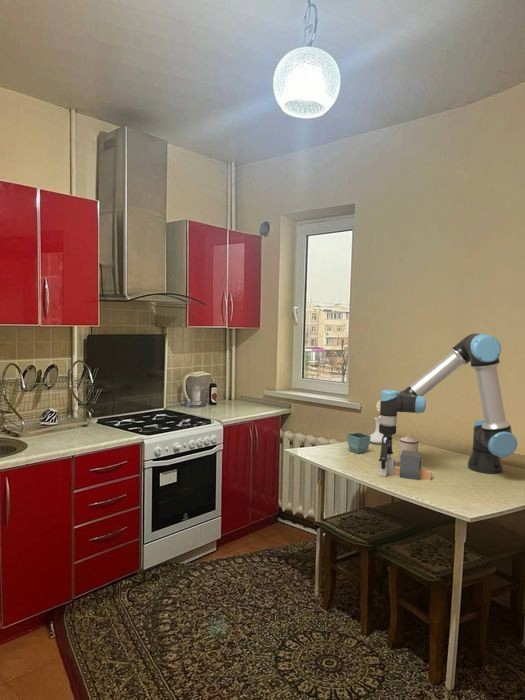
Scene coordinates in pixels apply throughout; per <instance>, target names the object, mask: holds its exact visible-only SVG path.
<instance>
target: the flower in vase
mask: <svg viewBox="0 0 525 700" xmlns="http://www.w3.org/2000/svg"><path fill="white" fill-rule="evenodd" d="M375 407H376V410H377V411H378V412H380V400H378V401H377V402H376V405H375ZM375 414H376V415H378V416H377V417H374V418H373V419H374V421H375V431H374V432H372V433H371V434H369V436H371V438H370V443H373V444H382V437H383V436H384V434H382V433H380V432H379V425H380V423H379V422H380V418H378V417H379V416H380V413H377V412H375Z"/></svg>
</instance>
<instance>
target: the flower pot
mask: <svg viewBox="0 0 525 700" xmlns="http://www.w3.org/2000/svg"><path fill="white" fill-rule="evenodd" d="M346 435H347V438H346V439H347V445H348V448H349V450H350V451H351V452H352V451H353V452H352V453H355V454H357V453H359V454H364V453H366V451H367V450H368V448H369V446H370V443H371V442H370V438H371V436H370V435H368V434H364V433H360V432H354V433H348V434H346ZM363 452H364V453H363Z"/></svg>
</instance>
